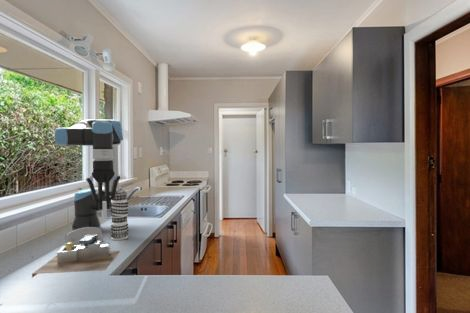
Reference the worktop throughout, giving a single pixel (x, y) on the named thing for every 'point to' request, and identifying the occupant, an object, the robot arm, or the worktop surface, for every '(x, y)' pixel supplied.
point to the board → (77, 265)
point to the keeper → (88, 239)
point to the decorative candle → (119, 216)
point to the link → (83, 252)
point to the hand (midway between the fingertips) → (104, 217)
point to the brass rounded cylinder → (69, 246)
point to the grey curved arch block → (80, 233)
